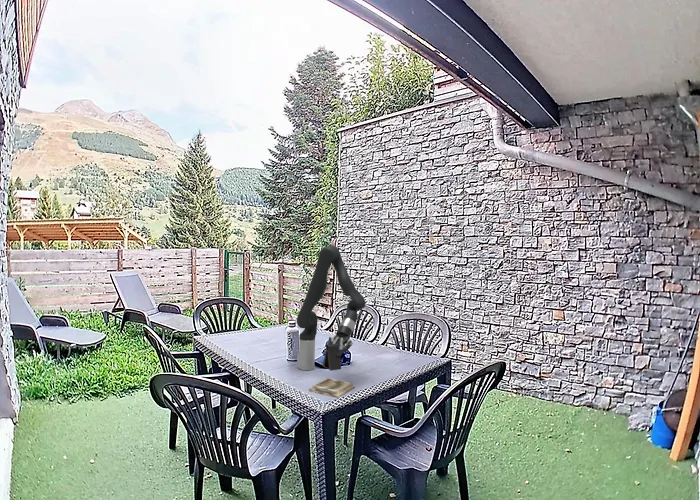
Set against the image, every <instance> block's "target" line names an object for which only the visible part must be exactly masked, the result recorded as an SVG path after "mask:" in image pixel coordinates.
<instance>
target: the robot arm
mask: <svg viewBox="0 0 700 500" xmlns="http://www.w3.org/2000/svg"><path fill="white" fill-rule="evenodd" d="M331 265H332V266H333V267H334V270H335V273H336V278H337V281H338V285H339V286H340V289H341V291H342V292H343V294H344V296H345V297H350V300H349V301H348V303H347V305H346V310H345V314H344V317H343V319H342V320H341V322H340V324H339V327H338V328H337V331H336V334H335V335H334V336H333V337H331V336H329V337H328V343H327V345H329V344H338V345H339V351H338V353H337V357H338V358H339V357H340V358H342V357H341V356H342V355H343V353H344V352H346V353H347V352H348V351H349V350H350V348H351V347H352V346H353V344H354V343H353V341H352V340H351V339H350V338H351V336H352V333H354V332H353V331H354V329H355V325H356V324H357V321H358V318H359V315H358V311H360V310H362V309H364V308H365V307H366V300H365V298H364V296H363V295H362V293H361V292H360V291H359V290H358V289H357V288H356V287H355V285H354V283H353V281H352V279H351V277H350V275H349V273H348V271H347V268H346V265H345V263H344V260H343V257H342V254H341V252H340V249H339V248H338V247H337V246H336V245H332V244H330V245H326V246H324V247H322V248H321V250H319V253H318V258H317V262H316V266H315V270H314V273H313V275H312V278H311V279H310V283H309V286H308V289H307V292H306V296H305V298H304V301H303V302H302V303H303V304H302V306H301V307H300V310H299V312H298V314H297V317H296V324H297V326H298V327H299V328H300V329H303V330H302V331H301V333H299V335H298V336H299V337H298V338H299V340H298V351H297V358H296V359H297V360H296V363H297V364H296V365H297V366H296V368H297V369H298V370H302V371H312V370H314V369H315V360H316V357H315V356H316V336H317V333H318V316H317V313H316V312H315V311H313V310H314V308H315V306H317V304H318V303H319V302H320V301H321V299H322V298H323V297H324V294H325V292H326V289H327V286H328V272H329V270H330V267H331Z"/></svg>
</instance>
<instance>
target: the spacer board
mask: <svg viewBox="0 0 700 500" xmlns="http://www.w3.org/2000/svg"><path fill="white" fill-rule="evenodd" d="M355 387H356V385H353V383H352V382H348V381H345V380H344V381H342V380H338V379H335V378H330V377H327V378H325V379H323V380H321V381H319V382H318V383H315V384H313V385H312V386H311V387H310V388H308V391H309V392H311V393H315V394H316V393H317V394H318V395H319V394H320V395H325V396H329V397H333V398H335V399H336V398H337V399H338V398H340V397H342V396H344V395H346V394H347V393H349V392H350V391H352V390H353V389H355Z"/></svg>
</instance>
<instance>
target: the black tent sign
mask: <svg viewBox="0 0 700 500" xmlns="http://www.w3.org/2000/svg"><path fill="white" fill-rule="evenodd" d="M339 350H340V346H339V345H338V344H333V343H332V344H329V345H328V344H326V345H325V352H324V358H323V362H322V367H324V368H325V369H326V370H328V371H332V372H333V371H337V370H342V363H341V357H339V358H338V357H337V353H338V351H339Z"/></svg>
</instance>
